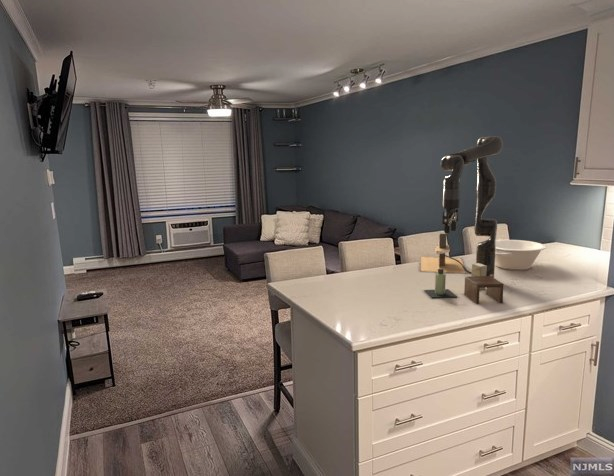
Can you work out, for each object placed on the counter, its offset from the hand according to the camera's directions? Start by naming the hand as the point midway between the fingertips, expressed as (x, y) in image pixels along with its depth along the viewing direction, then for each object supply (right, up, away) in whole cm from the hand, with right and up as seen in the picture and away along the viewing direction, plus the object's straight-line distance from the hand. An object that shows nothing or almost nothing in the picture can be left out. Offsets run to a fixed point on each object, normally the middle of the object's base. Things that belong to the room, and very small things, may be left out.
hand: (450, 231), depth 206 cm
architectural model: (+15, -20, +61) cm, 66 cm away
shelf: (+13, -31, -6) cm, 35 cm away
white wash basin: (+55, -20, +51) cm, 77 cm away
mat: (-4, -30, +2) cm, 31 cm away
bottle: (-4, -30, +2) cm, 30 cm away
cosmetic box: (+18, -28, +10) cm, 35 cm away
